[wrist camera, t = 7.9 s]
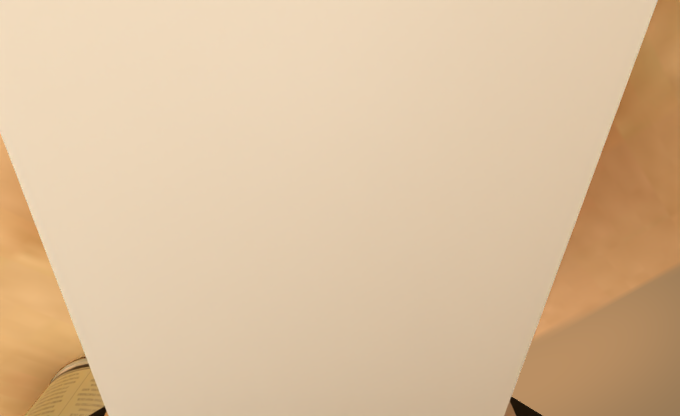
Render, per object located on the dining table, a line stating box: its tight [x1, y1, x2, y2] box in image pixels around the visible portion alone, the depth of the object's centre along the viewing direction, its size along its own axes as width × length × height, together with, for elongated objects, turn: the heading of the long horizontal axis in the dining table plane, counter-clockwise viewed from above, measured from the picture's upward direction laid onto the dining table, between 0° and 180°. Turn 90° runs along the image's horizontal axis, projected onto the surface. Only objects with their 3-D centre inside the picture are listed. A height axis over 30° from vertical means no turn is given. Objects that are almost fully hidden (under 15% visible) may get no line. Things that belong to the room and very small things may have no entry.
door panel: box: [0, 0, 658, 416], centre depth 9 cm, size 3×14×10 cm, turn 178°
